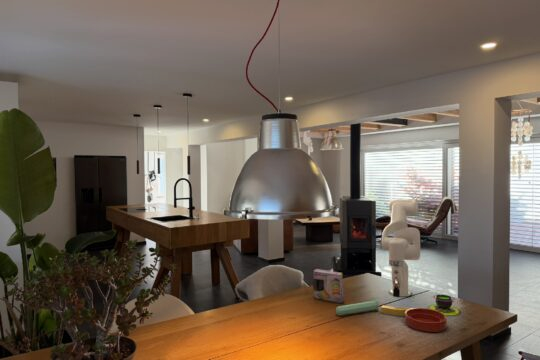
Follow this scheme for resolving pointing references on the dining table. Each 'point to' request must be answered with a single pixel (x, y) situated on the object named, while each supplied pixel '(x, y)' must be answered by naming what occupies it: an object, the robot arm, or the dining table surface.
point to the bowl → (425, 319)
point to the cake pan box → (328, 285)
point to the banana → (393, 310)
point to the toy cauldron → (444, 305)
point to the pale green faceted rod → (357, 308)
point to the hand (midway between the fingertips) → (396, 294)
